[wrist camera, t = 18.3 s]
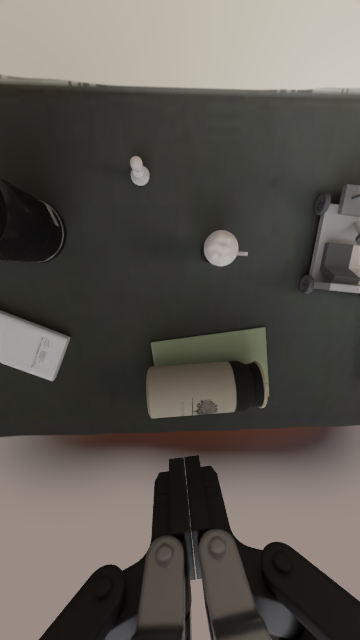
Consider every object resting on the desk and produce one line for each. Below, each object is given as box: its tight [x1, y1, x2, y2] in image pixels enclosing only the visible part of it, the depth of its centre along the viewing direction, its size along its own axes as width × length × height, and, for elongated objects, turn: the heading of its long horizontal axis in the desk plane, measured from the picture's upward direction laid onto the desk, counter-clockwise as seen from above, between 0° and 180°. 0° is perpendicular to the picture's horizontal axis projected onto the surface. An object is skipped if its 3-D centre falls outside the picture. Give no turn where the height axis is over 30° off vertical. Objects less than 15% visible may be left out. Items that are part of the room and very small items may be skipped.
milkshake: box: [201, 230, 248, 266], centre depth 35 cm, size 4×5×10 cm
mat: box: [151, 327, 269, 396], centre depth 44 cm, size 20×13×1 cm, turn 97°
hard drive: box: [0, 310, 70, 381], centre depth 41 cm, size 2×8×12 cm
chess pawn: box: [130, 156, 150, 186], centre depth 35 cm, size 3×3×5 cm
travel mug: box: [146, 361, 268, 418], centre depth 40 cm, size 8×8×18 cm
